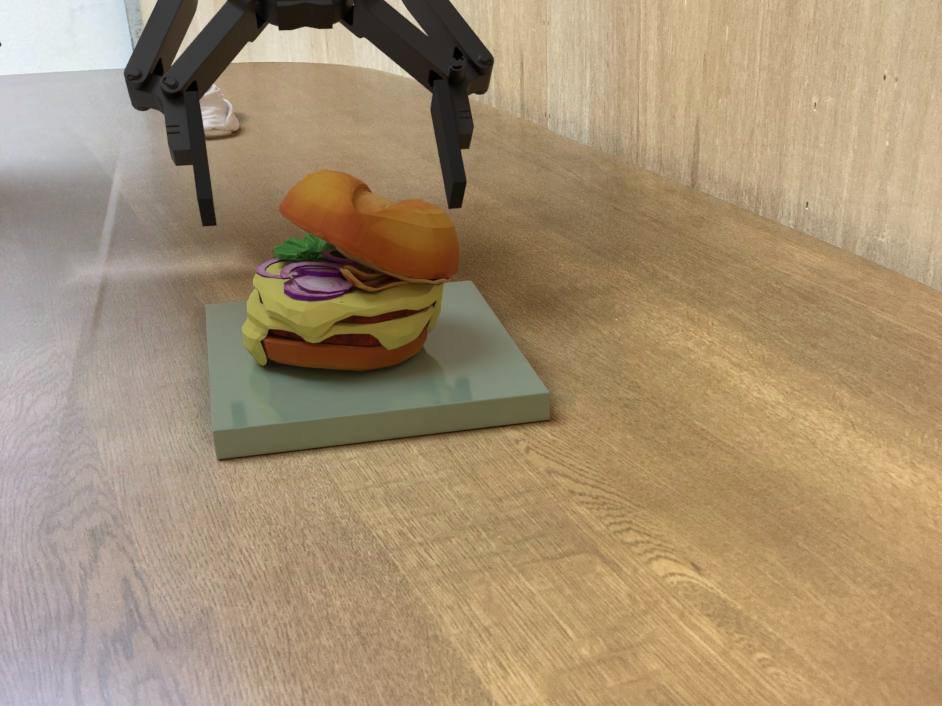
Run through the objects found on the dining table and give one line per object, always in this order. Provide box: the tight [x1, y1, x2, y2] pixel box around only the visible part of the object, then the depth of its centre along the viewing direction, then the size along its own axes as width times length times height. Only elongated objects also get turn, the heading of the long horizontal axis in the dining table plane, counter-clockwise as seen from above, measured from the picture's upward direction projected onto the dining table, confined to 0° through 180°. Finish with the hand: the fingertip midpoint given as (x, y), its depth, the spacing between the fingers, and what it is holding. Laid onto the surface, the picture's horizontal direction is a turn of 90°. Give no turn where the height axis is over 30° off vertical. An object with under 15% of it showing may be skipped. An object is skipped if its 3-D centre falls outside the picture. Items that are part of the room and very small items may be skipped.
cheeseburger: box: [241, 168, 460, 371], centre depth 59 cm, size 10×11×10 cm
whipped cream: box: [199, 83, 240, 132], centre depth 116 cm, size 8×7×5 cm
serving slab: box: [204, 280, 551, 460], centre depth 62 cm, size 18×16×2 cm
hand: (335, 205), depth 62 cm, fingers open, 13 cm apart
